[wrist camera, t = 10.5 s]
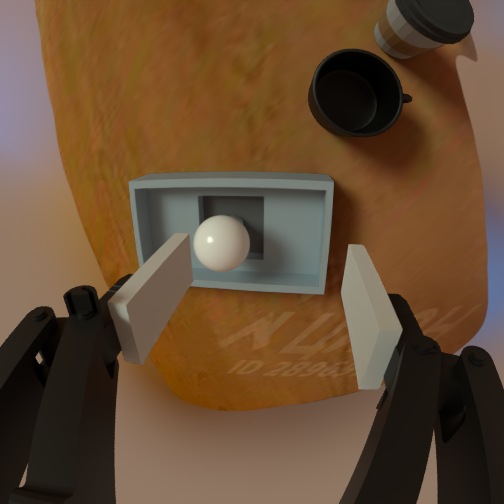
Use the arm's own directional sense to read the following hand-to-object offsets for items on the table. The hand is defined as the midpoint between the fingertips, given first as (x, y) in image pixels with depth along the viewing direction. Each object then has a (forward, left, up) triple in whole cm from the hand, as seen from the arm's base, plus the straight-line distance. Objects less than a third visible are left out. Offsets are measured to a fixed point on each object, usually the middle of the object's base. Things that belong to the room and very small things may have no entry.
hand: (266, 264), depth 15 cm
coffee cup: (-21, +15, -26) cm, 36 cm away
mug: (-11, +9, -26) cm, 29 cm away
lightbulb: (+6, -7, -25) cm, 27 cm away
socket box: (+6, -7, -25) cm, 27 cm away
